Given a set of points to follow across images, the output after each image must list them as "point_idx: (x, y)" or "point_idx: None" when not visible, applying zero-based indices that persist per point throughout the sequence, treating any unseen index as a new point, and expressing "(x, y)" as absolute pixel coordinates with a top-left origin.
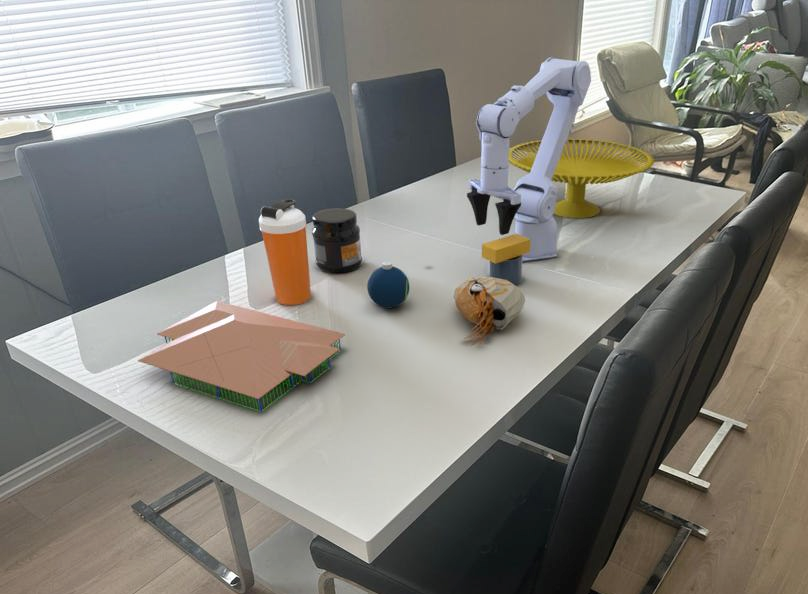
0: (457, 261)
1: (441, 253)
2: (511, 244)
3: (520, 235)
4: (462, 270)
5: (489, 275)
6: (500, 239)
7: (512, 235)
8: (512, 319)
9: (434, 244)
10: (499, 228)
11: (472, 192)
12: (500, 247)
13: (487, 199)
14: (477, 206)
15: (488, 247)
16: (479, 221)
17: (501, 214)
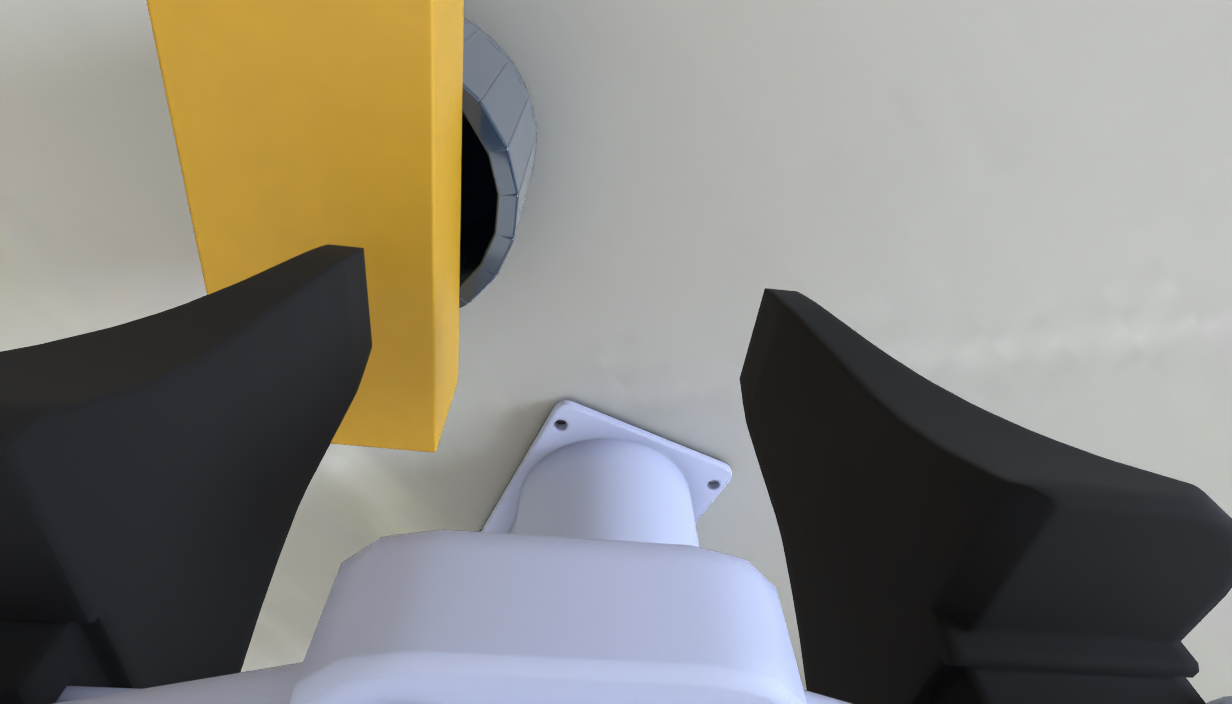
0: (905, 141)
1: (1088, 168)
2: (211, 220)
3: (374, 443)
4: (777, 37)
5: (501, 57)
6: (408, 247)
7: (423, 401)
8: None
9: (1208, 250)
10: (323, 264)
11: (1143, 642)
12: (191, 53)
13: (817, 647)
14: (860, 434)
15: None
16: (771, 323)
17: (83, 351)
